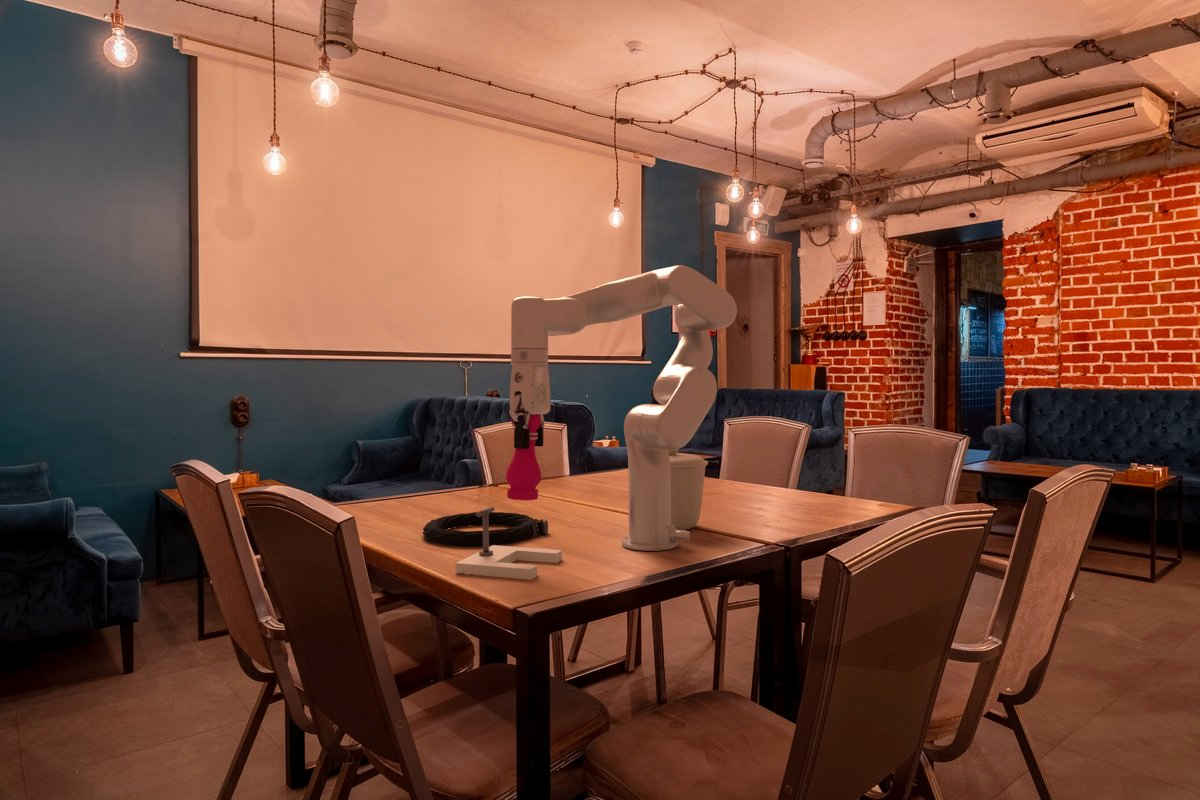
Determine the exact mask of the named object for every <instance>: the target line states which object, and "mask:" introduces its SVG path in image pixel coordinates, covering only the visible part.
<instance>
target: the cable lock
mask: <svg viewBox="0 0 1200 800" xmlns="http://www.w3.org/2000/svg"><path fill="white" fill-rule="evenodd" d="M477 512H478V511H474V512H469V513H457V514H452V515H445V516H441V517H438V518H436V519H431V520H430V521H429V522H427V523H426V524H425V525H424V526H423V528H422V530H423V531H422V534H423V536H424V538H425V540H427V541H429V542H430V541H431V542H430V543H433V542H435V543H434V544H438V543H440V544H439V545H442V544H444V545H443V546H453V545H455V547H463V546H464V547H465V546H468V547H483V530H470V531H469V530H468V531H466V530H457V529H456V530H454V528H453V527H457V528H461V527H460V526H466V527H469V526H468V525H476V526H483V515H482V516H480V517H477V516H476V513H477ZM488 514H489V526H493V525H492V524H495V525H494V526H500V525H504V526H506V525H508V526H507V528H498V529H490V530H489V547H490V546H492V545H497V546H502V545H508V544H512V543H517V541H518V542H522V541H524V540H526V539H529V538H535V537H537V536H538V537H541V536H543V535H545V536H547V535H548V534H549V522H548V520H547V519H546V520H544V519H543V518H542V519H537V518H533V517H531V516H529V515H527V514H521V513H518V512H504V511H503V512H502V511H493V512H490V513H488ZM512 526H513V527H512ZM508 527H509V528H508ZM448 528H453V529H448ZM446 529H448V530H446Z"/></svg>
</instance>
